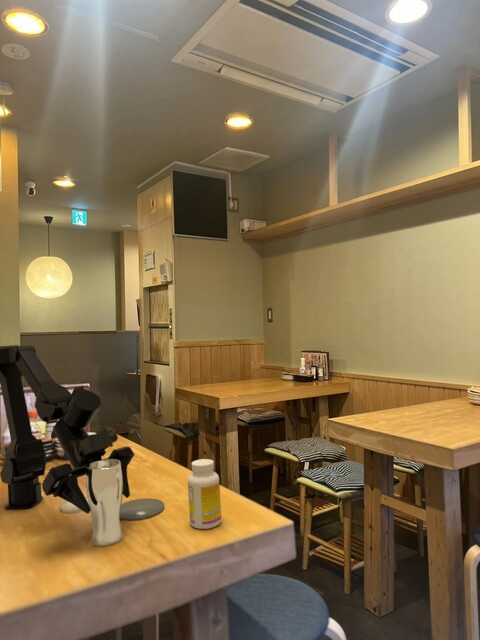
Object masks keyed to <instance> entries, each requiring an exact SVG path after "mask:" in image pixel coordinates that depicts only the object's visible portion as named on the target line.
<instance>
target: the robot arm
mask: <svg viewBox="0 0 480 640" xmlns="http://www.w3.org/2000/svg"><path fill="white" fill-rule="evenodd" d="M22 377H23V378H24V380H25V381H26V383H27V385H28V386H29V389H31V391H32V393H33V394H34V397H35V401H34V408H35V410H36V414H37V416H38V418H40V420H41V421H42V422H44V423H49V422H55V421H56V422H55V424H54V425H53V426H52V431H51V432H50V438H51V440H54V439H57V441H58V442H59V444H60V446H61V448H62V450H63V455H62V458H63V460H64V461H67V460H68V461H69V463H63V464H60V465H57V466H53V467H51V468H50V469H49V471H48V472H47V474H46V475H45V471H46V468H47V467H46V464H47V460H48V459H47V454H46V452H45V449H44V448H45V447H44V442H43V440H42V439H40V438H39V439H38V438H37V437H35V435H34V434H33V431H32V425H31V420H30V415H29V411H28V406H27V400H26V396H25V390H24V385H23V379H22ZM0 389H1V393H2V394H1V395H2V399H3V404H4V405H3V406H4V410H5V415H6V416H5V417H6V419H7V420H6V421H7V426H8V432H9V436H10V442H9V444H8V447H7V449H6V452H5V458H6V459H5V460H6V461H5V463H4V464H3V467H2V468H1V471H0V479H1V483H3V484H6V485H7V497H8V504H6V505H5V506H4V509H6V510H7V509H8V510H12V509H13V510H16V509H17V510H18V509H31V508H33V507H34V506H36V505H37V504H38V503H40V501H42V500H43V498H44V497H43V495H42V491H43V492H44V495H45V496H48V497H49V496H51V495H52V496H53V497H54V498H57V497H58V498H61V499H63V501H65V500H66V501H68V502H70V503H72V504H73V505H75V506H76V507H78V508H79V509H81V510H82V512H84V514H91V509H90V507H89V504H88V502H87V500H86V498H85V497H86V496H85V494H84V493H83V490H81V487H80V485H79V481H78V478H80V477H83V476H86V474H87V465H88V464H89V463H91V462H94V461H98V460H104V459H116V460H119V461H120V462H121V470H122V479H123V494H122V496H124V497H125V499H129V497H131V492H130V486H129V479H128V466H129V464H130V463H131V462H132V459H133V458H134V456H135V453H134V451H133V449H132V448H131V446H127V445H125V446H121V447H118V448H115V449H112V451H111V453H110V455H109V456H108V457H106V458H102V457H104V456H105V455H106V453H107V452H106V449H108V448H112V447H114V443H116V442H117V441H118V439H119V436H118V434H117V431H116V430H115V429H114V428H113V426H109V427H106V428H104V429H103V430H101V432H97V433H93V434H89V433H88V431H87V430H86V427H88V426H89V425H90V424H91V422H92V420H93V418H94V417H95V415H96V414H97V412H98V410H99V408H100V407H101V405H102V404H101V403H102V402H101V398H100V396H99V395H97V394H96V393H94V392H93V391H91V390H88V389H85V387H84V386H82V385H81V386H75V387H74V388H73V390H72V392H70V390H68V388H67V387H65V386H63V385H61V384H58V383H56V381H55V380H54V379H53V377H52V376H51V375H50V373H49V371H48V370H47V368H46V366H45V365H44V363H43V362H42V361H41V359H40V357H39V356H38V355H37V351H36V348H35V346H34V345H30V344H24V345H23V344H22V345H19V344H13V345H0ZM41 476H45V477H44V479H43V481H42V482H40V480H39V479H40V478H39V477H41Z"/></svg>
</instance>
